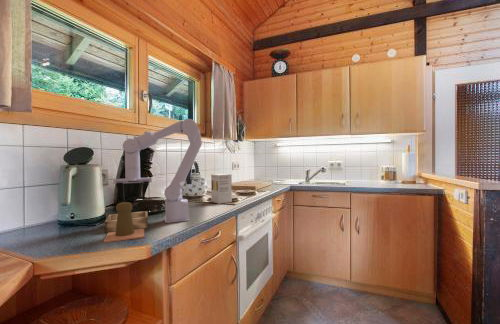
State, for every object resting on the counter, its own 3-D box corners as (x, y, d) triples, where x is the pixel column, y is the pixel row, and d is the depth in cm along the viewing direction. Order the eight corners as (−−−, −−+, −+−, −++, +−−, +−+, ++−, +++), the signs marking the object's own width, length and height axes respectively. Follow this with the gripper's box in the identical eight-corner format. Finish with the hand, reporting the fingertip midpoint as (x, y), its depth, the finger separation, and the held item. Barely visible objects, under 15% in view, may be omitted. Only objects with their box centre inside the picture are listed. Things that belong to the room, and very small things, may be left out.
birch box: (147, 220, 109) (147, 211, 109) (147, 227, 98) (147, 217, 98) (109, 224, 104) (109, 214, 104) (105, 232, 92) (104, 221, 92)
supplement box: (211, 201, 153) (210, 174, 153) (224, 200, 158) (223, 173, 158) (218, 204, 145) (218, 174, 145) (232, 202, 151) (231, 174, 150)
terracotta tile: (144, 229, 95) (144, 228, 95) (144, 237, 85) (144, 236, 85) (108, 234, 90) (108, 232, 90) (103, 242, 81) (103, 241, 81)
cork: (127, 236, 85) (126, 204, 85) (111, 235, 86) (110, 204, 86) (137, 231, 91) (137, 201, 91) (122, 230, 92) (121, 200, 92)
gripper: (112, 168, 99) (113, 203, 99) (151, 167, 105) (152, 200, 105) (114, 168, 106) (114, 200, 106) (151, 167, 111) (151, 197, 111)
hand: (133, 200), depth 106 cm, fingers open, 7 cm apart
